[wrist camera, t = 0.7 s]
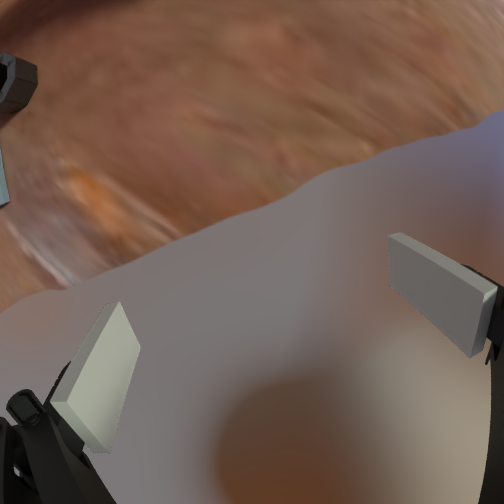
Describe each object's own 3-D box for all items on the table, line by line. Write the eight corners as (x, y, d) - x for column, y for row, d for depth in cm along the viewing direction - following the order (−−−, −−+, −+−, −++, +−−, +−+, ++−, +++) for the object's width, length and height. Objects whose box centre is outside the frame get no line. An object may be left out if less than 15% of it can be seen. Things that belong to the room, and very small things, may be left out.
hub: (0, 76, 26) (-22, 71, 20) (36, 53, 26) (15, 43, 20) (1, 120, 28) (-22, 118, 23) (38, 98, 29) (15, 92, 23)
